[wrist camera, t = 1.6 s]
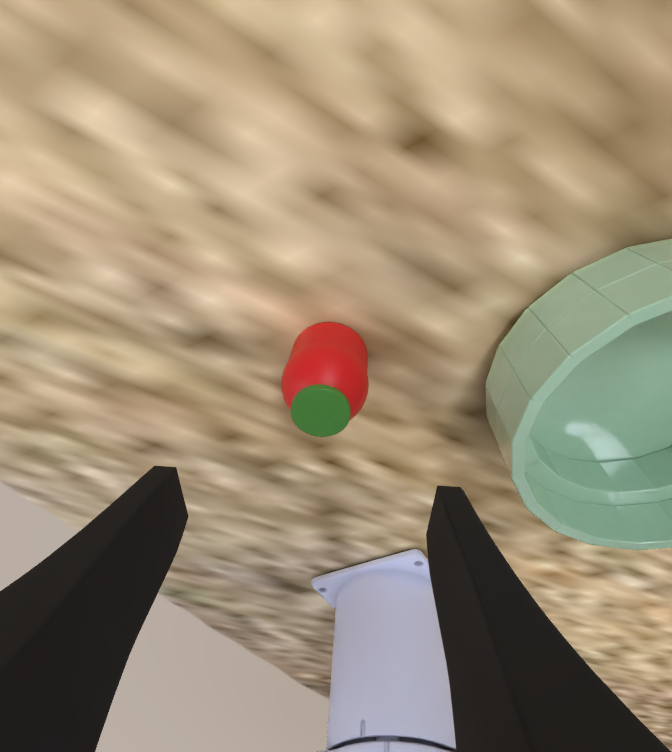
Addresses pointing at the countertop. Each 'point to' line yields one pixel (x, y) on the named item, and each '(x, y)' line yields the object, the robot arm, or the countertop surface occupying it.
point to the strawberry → (325, 378)
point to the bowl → (593, 401)
